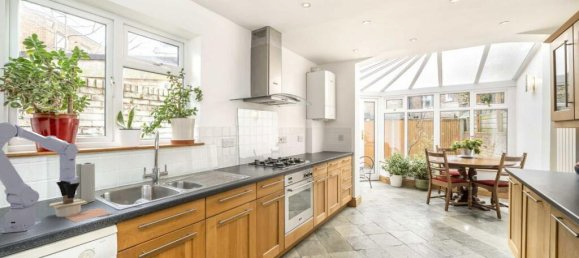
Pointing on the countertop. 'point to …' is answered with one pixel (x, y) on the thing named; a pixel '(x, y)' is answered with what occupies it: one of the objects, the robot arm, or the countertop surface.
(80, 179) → the paper towel roll
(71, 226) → the countertop surface
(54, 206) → the lid
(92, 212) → the mat
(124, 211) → the countertop surface
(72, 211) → the bowl
